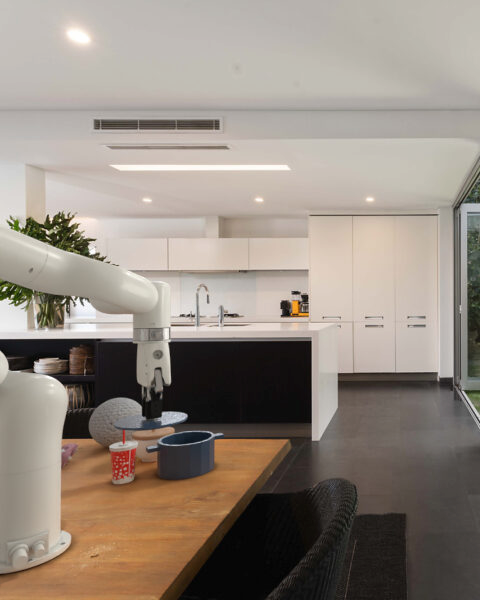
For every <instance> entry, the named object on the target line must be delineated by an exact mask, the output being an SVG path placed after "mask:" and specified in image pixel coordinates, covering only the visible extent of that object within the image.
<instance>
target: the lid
mask: <svg viewBox="0 0 480 600" xmlns="http://www.w3.org/2000/svg"><path fill="white" fill-rule="evenodd" d="M146 401H147V397H146ZM187 420H188V414H187V413H185V412H181V411H162V417H161V418H156V419H149V420H147V419H146V417H143V416H142V414H139V415H134V416H129V417H126V418H122V419H120V420H118V421H116V422H115V423H114V428H116V429H120V430H132V431H145V430H155V429H161V428H165V427H172V426H175V425H179V424H181V423H184V422H186V421H187Z"/></svg>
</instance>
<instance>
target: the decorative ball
mask: <svg viewBox="0 0 480 600" xmlns="http://www.w3.org/2000/svg"><path fill="white" fill-rule="evenodd" d="M139 414H142V404H140V403H139V402H137V401H136V400H134V399H132V398H128V397H113V398H110V399H108V400H106V401H105V402H104V401H103V403H101V404H100V405H99V406H97V407H96V408H95V409H94V411H93V412H92V414H91V415H90V418H89V421H88V431H89V434H90V436H91V438H92V439H93V440H94V441H95V442H96V443H97V444H98V445H101V446H102V447H105V448H109V446H110V445H112V444H115V443H118V442H123V430H120V429H116V428H114V423H115V422H116V421H118V420H120V419H122V418H126V417H129V416H134V415H139ZM134 432H136V431H132V430H125V441H132V434H133V433H134Z"/></svg>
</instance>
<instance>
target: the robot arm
mask: <svg viewBox="0 0 480 600" xmlns="http://www.w3.org/2000/svg"><path fill="white" fill-rule="evenodd" d="M0 280H2V281H6V282H8V283H11V284H15V285H17V286H20V287H23V288H26V289H30V290H32V291H36V292H40V293H44V294H50V295H57V296H67V297H77V298H84V299H88V301H89V304H90V305H91V306H92V308H93V309H95V310H96V311H97V312H100V313H102V314H106V315H132V344H137V348H136V349H137V350H136V351H137V352H136V380H137V383H138V384H139V385H140V386H141V398H142V399H141V407H142V416H143V417H146V419H147V420H149V419H156V418H161V417H162V412H163V392H164V387H163V386H166V387H169V386H171V383H172V376H171V375H172V373H171V356H170V345H169V343H171V342H172V288H171V285H170V284H169V283H168V282H165V281H154V280H153V281H151V280H149V279H148V278H146V277H144V276H142V275H140V274H137V273H135V272H133V271H130V270H128V269H125V268H123V267H121V266H118V265H116V264H112V263H109V262H106V261H101V260H99V259H95V258H91V257H88V256H85V255H81V254H78V253H74V252H72V251H71V252H70V251H66V250H64V249H61V248H58V247H55V246H53V245H51V244H48V243H46V242H44V241H41V240H39V239H37V238H35V237H31V236H30V235H27V234H24V233H22V232H19V231H17V230H15V229H13V228H10V227H8V226H5V225H4V224H0ZM9 367H10V366H9V362H8V359H7V357H6V356H5V354H4V353H3V352H2V351H1V350H0V575H1V574H10V573H15V572H20V571H23V570H24V571H25V570H27V569H30V568H33V567H37V566H39V565H42V564H44V563H47V562H49V561H51V560H53V559H54V558H56V557H58V556H60V555H61V554H62V553H64V552H65V551H66V550H67V549H68V548H69V547H70V545H71V543H72V535H71V533H70V532H67V531H66V530H63V529H61V525H62V524H61V522H62V518H61V517H62V468H61V448H62V446H63V445H62V444H63V432H64V431H63V430H64V425H65V421H66V415H67V411H68V406H69V394H68V392H67V389H66V388H65V386H64V385H63V384H62V382H60V381H59V380H58V379H57V378H55V377H53V376H50V375H47V374H42V373H35V372H34V373H33V372H26V371H12V370H10V369H9ZM146 397H147V401H146Z"/></svg>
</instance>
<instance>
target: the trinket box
mask: <svg viewBox="0 0 480 600" xmlns="http://www.w3.org/2000/svg"><path fill="white" fill-rule="evenodd" d="M174 433H176V431H175V428H174V427H172V426H169V427H165V428H161V429H155V430H145V431H136V432H134V433H133V434H132V441H136V442H138V444H137V445H138V446H137V447H136V457H137V458H138V459H140V461H141V462H142V463H143V462H144V463H154V462H157V452H152V453H148V452H146V447H149V446H155V445H157V442H158V440H159V439H160V438H162V437H164V436H167V435H171V434H174Z"/></svg>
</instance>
